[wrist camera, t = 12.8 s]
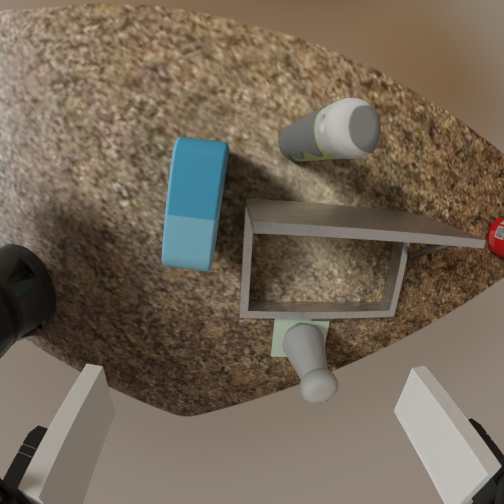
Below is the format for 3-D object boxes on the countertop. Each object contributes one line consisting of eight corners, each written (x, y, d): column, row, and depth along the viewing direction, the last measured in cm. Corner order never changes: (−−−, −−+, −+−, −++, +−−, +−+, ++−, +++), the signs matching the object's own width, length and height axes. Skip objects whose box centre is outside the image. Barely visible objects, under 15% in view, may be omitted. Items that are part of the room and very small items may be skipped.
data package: (216, 243, 39) (209, 277, 27) (181, 238, 39) (160, 270, 27) (229, 148, 36) (227, 141, 24) (193, 143, 35) (174, 135, 24)
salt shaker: (288, 312, 42) (308, 370, 29) (325, 321, 43) (355, 376, 30) (274, 346, 43) (288, 408, 31) (310, 353, 44) (332, 413, 32)
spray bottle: (279, 121, 35) (327, 81, 16) (318, 127, 35) (397, 98, 16) (276, 160, 36) (321, 158, 17) (314, 164, 37) (392, 170, 18)
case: (239, 310, 42) (242, 395, 25) (245, 195, 37) (253, 221, 21) (390, 310, 43) (449, 374, 27) (409, 210, 39) (491, 240, 23)
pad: (270, 355, 44) (271, 356, 44) (275, 308, 42) (276, 309, 42) (321, 354, 45) (322, 355, 44) (330, 308, 43) (331, 309, 42)
